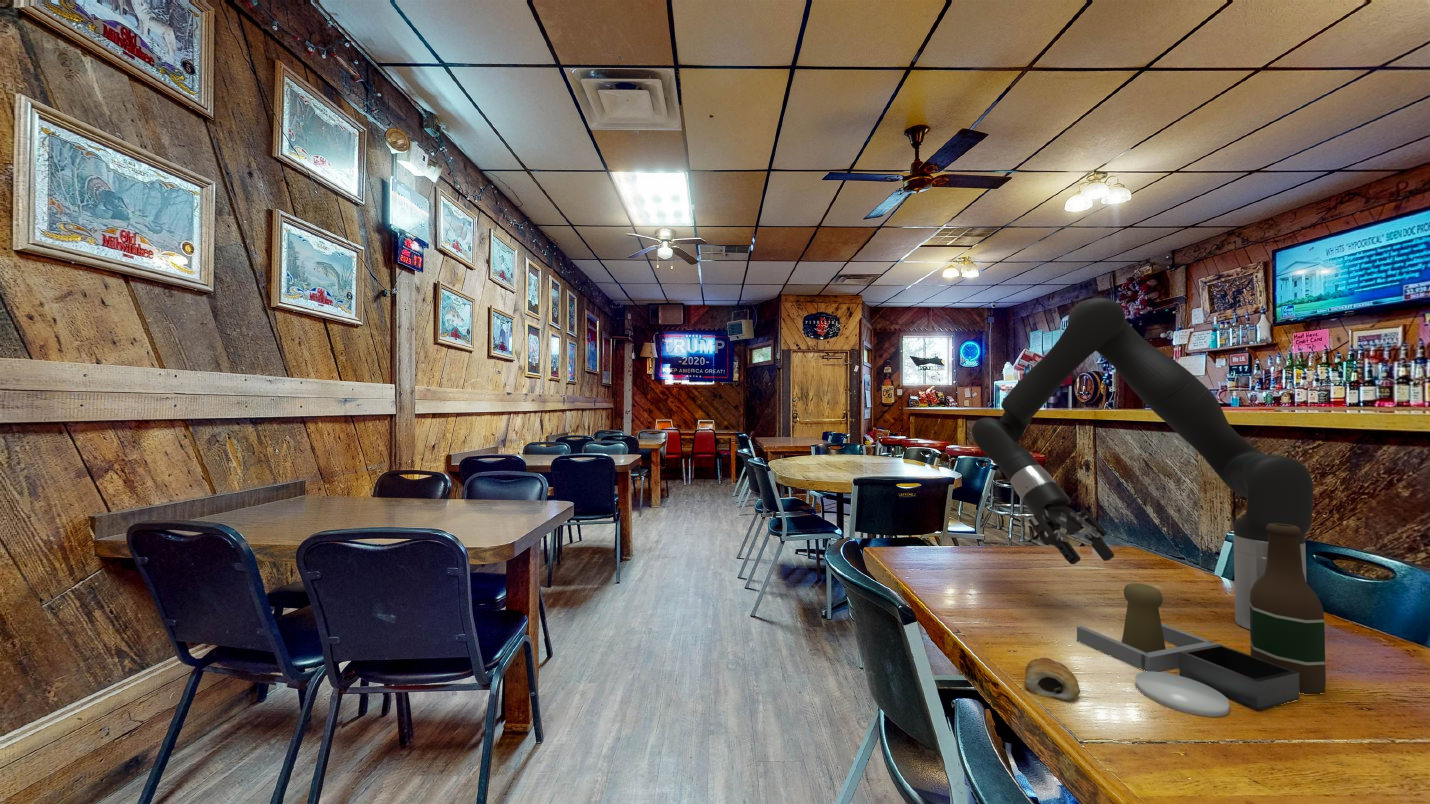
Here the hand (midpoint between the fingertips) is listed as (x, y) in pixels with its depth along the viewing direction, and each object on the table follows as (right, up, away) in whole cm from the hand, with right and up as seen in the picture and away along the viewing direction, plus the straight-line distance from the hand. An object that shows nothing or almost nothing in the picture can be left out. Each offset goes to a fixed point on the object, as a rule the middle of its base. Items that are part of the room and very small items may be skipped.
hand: (1093, 560), depth 96 cm
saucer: (-5, -12, -23) cm, 27 cm away
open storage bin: (+6, -12, -21) cm, 25 cm away
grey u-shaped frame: (+2, -13, -8) cm, 15 cm away
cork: (+2, -13, -8) cm, 16 cm away
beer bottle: (+15, -13, -19) cm, 28 cm away
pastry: (-22, -13, -20) cm, 33 cm away
